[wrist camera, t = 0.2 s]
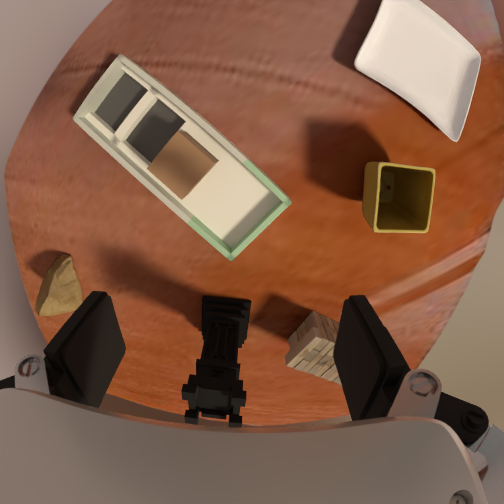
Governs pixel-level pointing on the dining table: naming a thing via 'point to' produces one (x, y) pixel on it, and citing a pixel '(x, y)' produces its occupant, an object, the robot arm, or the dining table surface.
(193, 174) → the walnut block
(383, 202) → the flower pot
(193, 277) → the dining table surface
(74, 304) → the rock
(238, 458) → the robot arm
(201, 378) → the chess piece
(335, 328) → the block tower
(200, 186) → the tray
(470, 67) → the salad plate
